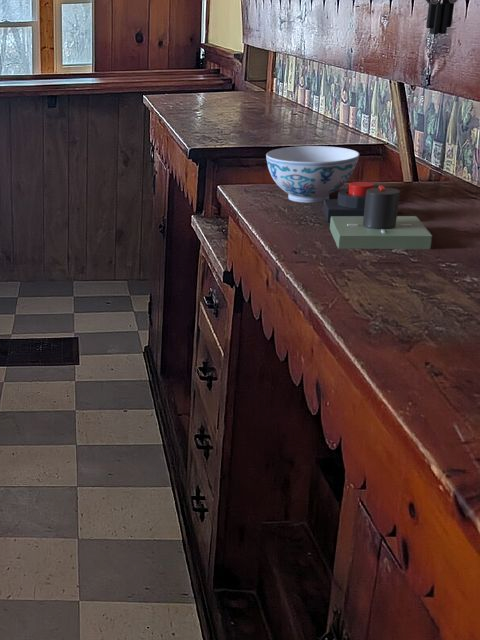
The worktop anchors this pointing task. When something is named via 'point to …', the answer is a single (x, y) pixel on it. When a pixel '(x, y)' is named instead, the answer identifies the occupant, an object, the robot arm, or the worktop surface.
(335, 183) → the chinaware
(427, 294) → the worktop surface
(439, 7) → the robot arm
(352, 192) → the button
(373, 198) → the dark grey cylinder
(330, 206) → the switch block
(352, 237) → the console
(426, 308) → the worktop surface
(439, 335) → the worktop surface
